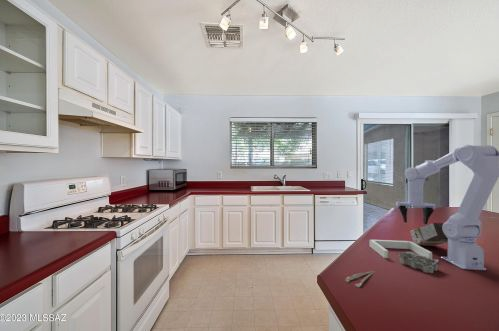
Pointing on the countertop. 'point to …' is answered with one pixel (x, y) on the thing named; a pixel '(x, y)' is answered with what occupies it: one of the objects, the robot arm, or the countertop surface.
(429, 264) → the egg carton
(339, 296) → the countertop surface
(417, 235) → the coffee box
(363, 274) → the tweezers
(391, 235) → the countertop surface
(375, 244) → the white l-shaped bracket
